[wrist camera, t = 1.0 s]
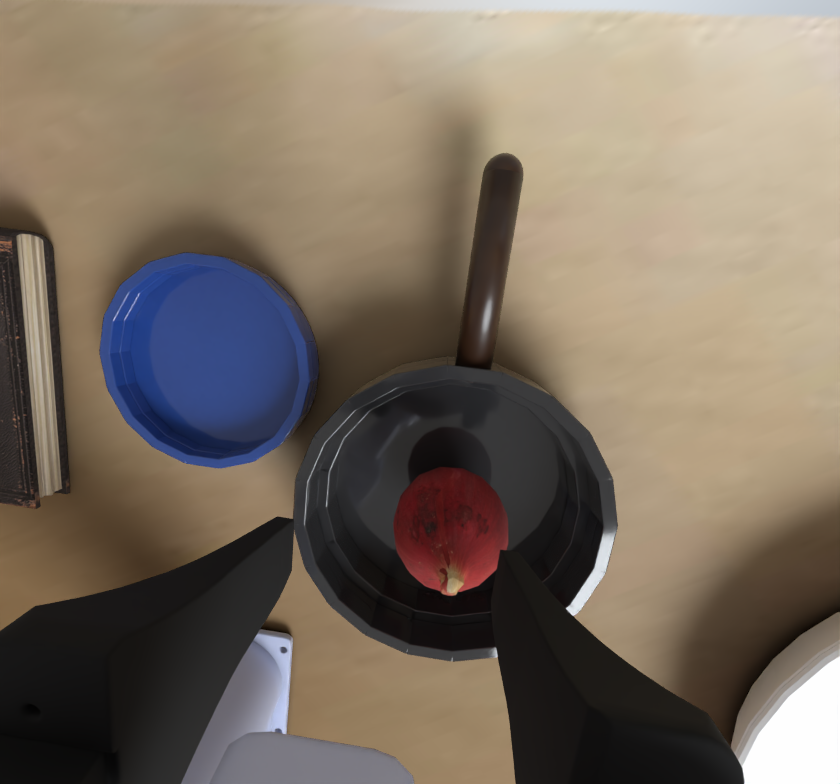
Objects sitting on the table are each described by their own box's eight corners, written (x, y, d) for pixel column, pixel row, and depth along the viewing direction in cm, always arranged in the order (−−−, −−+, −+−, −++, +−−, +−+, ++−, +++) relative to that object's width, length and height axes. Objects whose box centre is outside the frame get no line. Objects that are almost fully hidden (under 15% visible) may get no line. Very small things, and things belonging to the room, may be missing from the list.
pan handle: (486, 381, 20) (490, 388, 18) (452, 376, 20) (452, 383, 19) (522, 164, 18) (530, 148, 16) (483, 160, 18) (488, 143, 16)
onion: (386, 469, 23) (355, 548, 15) (474, 432, 22) (489, 496, 15) (426, 548, 24) (416, 662, 16) (512, 516, 23) (546, 619, 16)
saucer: (313, 468, 24) (302, 481, 22) (128, 441, 24) (103, 451, 23) (327, 272, 21) (317, 268, 20) (121, 245, 22) (93, 240, 20)
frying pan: (557, 625, 25) (577, 682, 21) (309, 585, 26) (285, 634, 22) (616, 377, 22) (653, 392, 18) (328, 339, 22) (303, 345, 18)
